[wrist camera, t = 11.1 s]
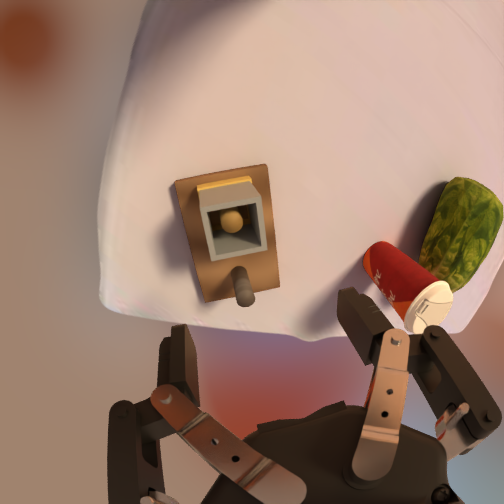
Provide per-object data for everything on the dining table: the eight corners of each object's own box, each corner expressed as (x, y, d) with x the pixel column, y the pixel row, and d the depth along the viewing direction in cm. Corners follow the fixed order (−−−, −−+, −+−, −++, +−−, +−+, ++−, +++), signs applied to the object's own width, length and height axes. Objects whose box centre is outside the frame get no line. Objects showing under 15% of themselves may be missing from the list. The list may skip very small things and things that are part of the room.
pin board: (175, 180, 29) (169, 198, 23) (264, 163, 30) (281, 177, 24) (205, 297, 37) (207, 331, 31) (277, 281, 38) (292, 313, 32)
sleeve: (197, 185, 29) (196, 205, 23) (248, 175, 29) (263, 193, 23) (206, 232, 32) (209, 263, 25) (255, 223, 32) (269, 251, 26)
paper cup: (347, 270, 39) (399, 333, 27) (376, 226, 37) (440, 279, 25) (379, 284, 42) (428, 341, 30) (405, 246, 40) (463, 296, 28)
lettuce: (386, 275, 42) (427, 318, 32) (439, 159, 34) (495, 181, 24) (425, 284, 45) (461, 321, 35) (471, 186, 37) (518, 210, 27)
